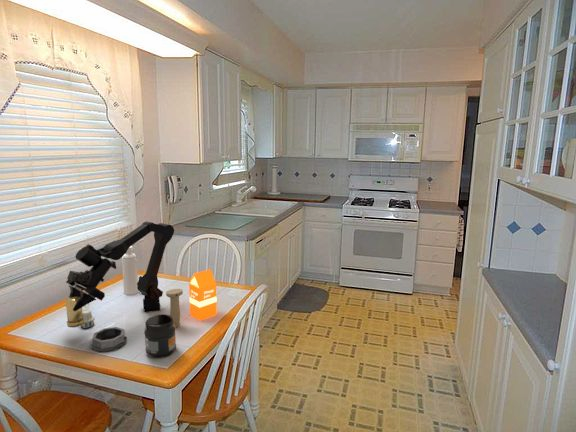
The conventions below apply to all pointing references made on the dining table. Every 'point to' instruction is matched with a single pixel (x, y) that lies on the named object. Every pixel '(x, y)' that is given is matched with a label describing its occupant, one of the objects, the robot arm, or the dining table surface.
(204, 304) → the orange juice
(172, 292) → the handle
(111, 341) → the collar fitting
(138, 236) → the robot arm
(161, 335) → the supplement container
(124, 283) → the spray bottle
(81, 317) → the gold bulb-shaped piece
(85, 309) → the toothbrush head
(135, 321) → the dining table surface
